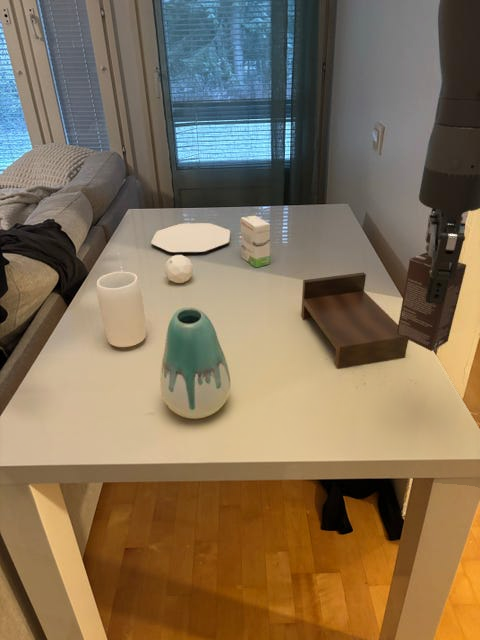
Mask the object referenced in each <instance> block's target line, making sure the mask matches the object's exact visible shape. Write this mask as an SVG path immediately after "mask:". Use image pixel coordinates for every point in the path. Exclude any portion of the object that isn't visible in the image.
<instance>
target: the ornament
mask: <svg viewBox="0 0 480 640" xmlns="http://www.w3.org/2000/svg"><path fill="white" fill-rule="evenodd" d="M164 273H165V275H166V277H167V279H168V280H169V281H171V282H173V283H175V284H183V283H185V282H187V281H189V280H190V278H191V277H192V275H193V273H194V266H193V264H192V261H191V259H190V258H188V257H187V256H184V255H183V254H175V255H172V256H171V257H169V258H168V259H167V261H166V262H165V265H164Z"/></svg>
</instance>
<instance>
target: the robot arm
mask: <svg viewBox="0 0 480 640" xmlns="http://www.w3.org/2000/svg"><path fill="white" fill-rule="evenodd" d="M437 11H438V12H437V31H438V32H437V33H438V50H439V51H438V52H439V69H440V74H441V75H440V77H441V85H440V91H439V94H438V99H437V105H436V106H437V107H436V110H435V115H434V123H433V127H432V130H431V133H430V135H429V139H428V143H427V148H426V154H425V160H424V165H423V170H422V171H423V172H422V177H421V182H420V183H421V184H420V189H419V194H418V200H419V202H420V203H421V204H422V205H423V206H425V207H427V208H430V209H431V212H430V214H429V215H428V218H427V228H426V232H425V242H426V245H425V253H427V252H428V257H429V258H431V268H430V270H429V274H430V277H429V282H428V287H427V292H426V297H425V298H426V302H427V303H433V304H442V303H443V302H444V299H445V294H446V290H447V286H448V281H449V280H454V277H455V276H456V269H457V265H458V262H459V260H460V258H461V253H462V249H463V244H464V242H465V240H466V236H465V232H466V231H465V230H466V222H463V220H464V216H463V214H465V213H466V212H474V211H479V210H480V0H439V3H438V10H437ZM441 262H448V267H447V269H446V268H439V264H440V263H441Z"/></svg>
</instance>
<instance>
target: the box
mask: <svg viewBox="0 0 480 640" xmlns="http://www.w3.org/2000/svg"><path fill="white" fill-rule="evenodd" d="M447 267H448V262H441V263H440V264H439V268H446V269H447ZM430 268H431V258H429V257H428V252H423V253H421V254H419V255H416V256H413V257H411V258H409V263H408V269H407V273H406V274H407V275H406V280H405V284H404V290H403V295H402V296H403V297H402V302H401V308H400V313H399V318H398V323H397V324H398V329H397V335H399V336H402V337H404V338H406V339H408V341H410V342H413V343H414V344H416V345H418V346H420V347H422V348H424V349H426V350H428V351H430V352H434V351H436V350H437V349H438V348H440V347H442V346H443V345H445V344H446V343H447V342H449V338H450V334H451V330H452V326H453V322H454V318H455V315H456V314H455V313H456V309H457V305H458V302H459V297H460V295H461V294H460V293H461V288H462V285H463V281H464V278H465V277H464V276H465V274H466V270H467V264H465V263H462V262H459V261H458V265H457V269H456V276H455V277H454V280H449V281H448V286H447V290H446V294H445V299H444V302H443V303H442V304H433V303H427V302H426V298H425V297H426V292H427V287H428V282H429V277H430V274H429V270H430Z"/></svg>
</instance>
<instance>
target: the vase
mask: <svg viewBox="0 0 480 640" xmlns="http://www.w3.org/2000/svg"><path fill="white" fill-rule="evenodd" d="M165 335H166V337H165V345H164V350H163V354H162V355H163V356H162V360H161V365H160V372H159V388H160V394H161V396H162V399H163V401H164V403H165V404H166V406H167V407H168V408H169V409H170V410H171V411H172V412H173V413H175V414H176V415H178V416H180V417H183V418H185V419H192V420H194V419H195V420H199V419H204V418H208V417H210V416H212V415H214V414H215V413H216V412H218V411H219V410H220V409H222V407H223V406H224V404H225V403H226V402H227V400H228V398H229V395H230V391H231V375H230V374H231V373H230V370H229V365H228V362H227V359H226V356H225V354H224V351H223V348H222V346H221V344H220V340H219V337H218V335H217V331H216V329H215V326H214V324H213V323H212V321H211V319H210V318H209V317H208V315H206V313H204V311H202V310H200V309H199V308H196V307H182V308H179V309H178V310H176V311H175V312H174V314H173V315H172V317H171V319H170V320H169V323H168V326H167V331H166V334H165Z"/></svg>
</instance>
